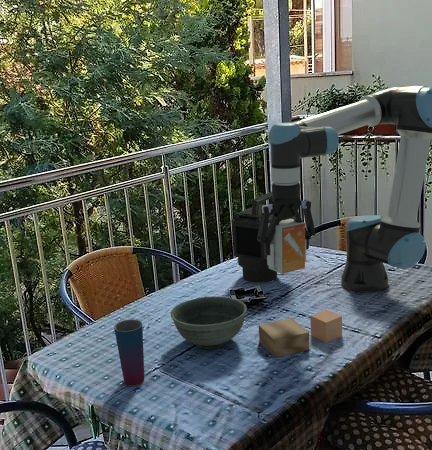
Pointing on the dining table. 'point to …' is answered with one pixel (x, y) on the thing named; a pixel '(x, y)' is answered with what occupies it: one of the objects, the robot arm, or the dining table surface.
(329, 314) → the terracotta cube
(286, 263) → the small box
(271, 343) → the walnut plinth
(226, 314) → the bowl
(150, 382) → the dining table surface
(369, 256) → the robot arm
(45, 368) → the dining table surface
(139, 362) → the cup
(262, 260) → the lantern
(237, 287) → the dining table surface
